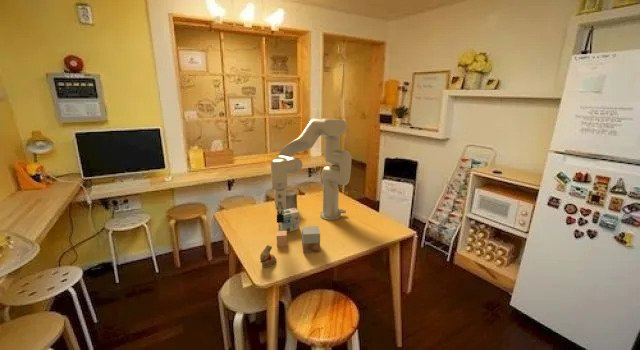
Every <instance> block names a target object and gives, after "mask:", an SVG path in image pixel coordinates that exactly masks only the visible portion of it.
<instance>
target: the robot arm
mask: <svg viewBox="0 0 640 350" xmlns="http://www.w3.org/2000/svg"><path fill="white" fill-rule="evenodd" d="M347 129H348V125H347V123H346V121H345V120H344V119H340V118H339V119H338V118H330V117H329V118H327V117H326V118H324V117H323V118H312V119H311V120H309V122H308V124H307V125H306V126H305V128H304V129H303V130H302V132H301V133H300V135H299V136H298V137H297V138H296V139H294V140H292V141H291V142H289V143H287V144H286V145H285V146H283V147H282V148H281V149H280V151H279V153H278V154H277V156H276V158H275V159H272V160H271V162H270V174H271V190H273V191H274V205H275V210H276V223H277V224H278V223H283V222H284V214H283V209H286V190H288V174H296V173H299V172H300V171H301V170H302V168H303V161H302V160H301V159H300V158H298V157H295V156H294V155H296V154H298V153H300V152H304V151H305V152H306V151H308V150H310V149H312V148H313V147H314V145H315V143H316V142H317V140H318V138H319V137H321V136H322V137H324V139H325V140H324V141H325V148H324V149H325V150H324V151H325V152H324V161H325V163H327V164H329V165H327V166H324V167H323V168H322V169H321V175H320V176H321V180H322V211H321V212H320V214H319V215H320V218H321V219H323V220H327V221H335V220H338V219H340V218H341V215H342V214H347V210H345V209H344V208H341V209H340V208H339V200H340V199H339V197H340V196H339V194H340V191H339V190H340V189H339V185H341V186H346V185H348V184H349V182H350V180H351V173H352V172H351V171H352V159H353V158H352V155H351V152H350V151H348V150H346V149H341V138H340V136H343V135H344V134H345V133H346V131H347ZM336 166H337V167H336Z"/></svg>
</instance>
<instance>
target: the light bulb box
mask: <svg viewBox="0 0 640 350" xmlns="http://www.w3.org/2000/svg"><path fill="white" fill-rule="evenodd" d="M283 214H284V222H283V223H277V224H278V229H279V231H287V233H288V232H290V233H291V232H294V231H297V230H300V211H299V210H298V208H297V209H296V208H291V209H286V210H283Z"/></svg>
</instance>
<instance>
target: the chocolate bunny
mask: <svg viewBox="0 0 640 350" xmlns="http://www.w3.org/2000/svg"><path fill="white" fill-rule="evenodd" d="M272 249H273V247H272V245H269V244H267V245H266V246H265V248H264V249H263V250H262V251H261V253H260V255H259V256H260V257H259V259H260V263H261V267H262V268H263V269H266V268H267V269H268V268H271V267H272V266H274V265H275V264H276V263H277V258H276V256H275V254H271V250H272Z"/></svg>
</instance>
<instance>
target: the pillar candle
mask: <svg viewBox="0 0 640 350" xmlns="http://www.w3.org/2000/svg"><path fill="white" fill-rule="evenodd" d="M285 190H286V209H291V208H296V209H297V210H298V200H297V199H298V197H297V191H296V190H292V189H285ZM286 209H283V210H286Z"/></svg>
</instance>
